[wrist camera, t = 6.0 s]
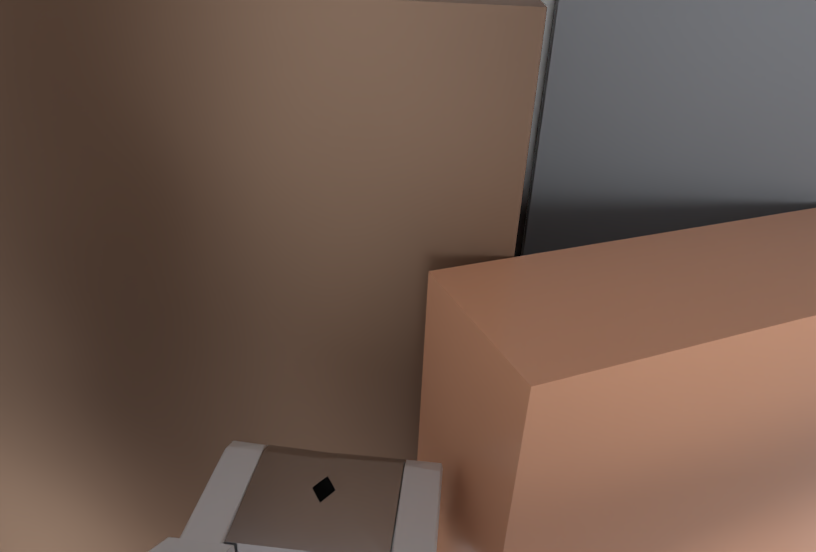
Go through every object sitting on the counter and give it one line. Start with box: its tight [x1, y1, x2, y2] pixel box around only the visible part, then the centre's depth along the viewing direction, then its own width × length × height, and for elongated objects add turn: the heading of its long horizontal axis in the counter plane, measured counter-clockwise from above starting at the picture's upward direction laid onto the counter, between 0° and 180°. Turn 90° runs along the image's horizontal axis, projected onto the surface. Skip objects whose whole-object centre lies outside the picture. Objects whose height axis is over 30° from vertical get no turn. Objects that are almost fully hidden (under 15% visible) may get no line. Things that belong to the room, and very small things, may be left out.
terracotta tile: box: [417, 208, 816, 552], centre depth 10 cm, size 8×6×2 cm
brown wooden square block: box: [0, 0, 547, 552], centre depth 12 cm, size 12×12×4 cm
